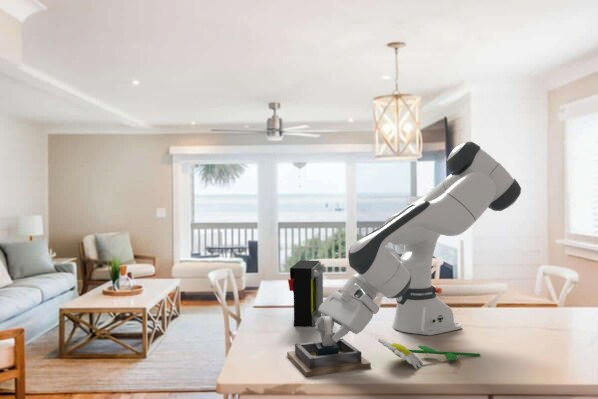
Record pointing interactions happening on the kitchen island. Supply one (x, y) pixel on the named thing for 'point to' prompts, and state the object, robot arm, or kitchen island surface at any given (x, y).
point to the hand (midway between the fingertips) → (325, 335)
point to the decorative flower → (412, 358)
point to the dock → (327, 359)
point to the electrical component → (306, 291)
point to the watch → (326, 337)
